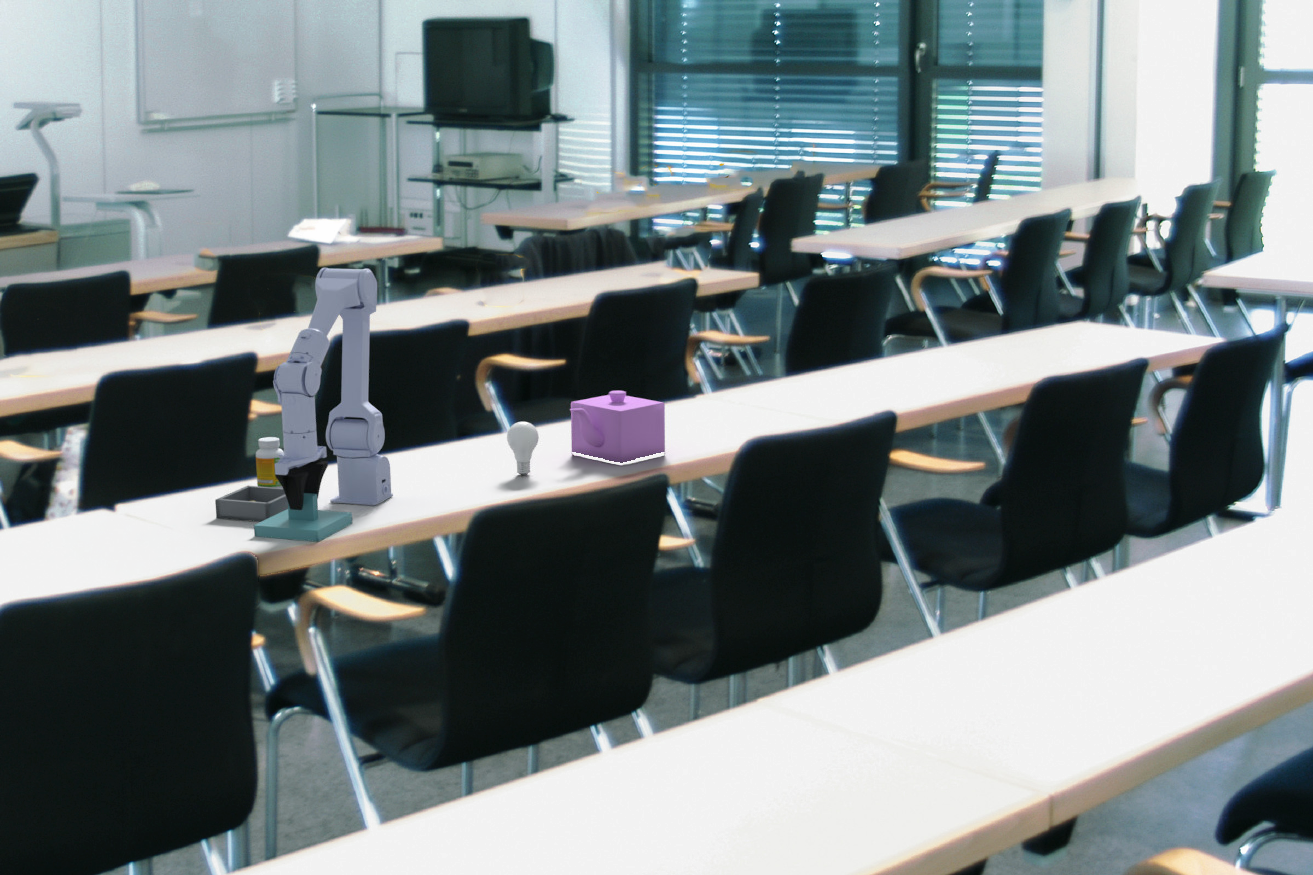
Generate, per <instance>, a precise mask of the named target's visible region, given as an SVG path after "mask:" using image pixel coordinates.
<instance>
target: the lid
mask: <svg viewBox="0 0 1313 875" xmlns="http://www.w3.org/2000/svg"><path fill="white" fill-rule="evenodd" d="M351 524H353V513H352V512H349V511H348V512H347V511H336V510H325V509H324V510H323V509H319V507H318V500H317V494H309V493H304V501H303V508H302V510H291V509H290V507H289V504H288V509H287V510H285V511H283V512H280V513H278V514H276V515H274V516H272V517H270V518H268V519H266V520H264V521H262V522H258V523H255V524H254V525H253V532H254V533H253V534H254V537H257V538H258V537H259V538H270V539H279V540H280V539H281V540H291V541H293V540H294V541H305V542H306V541H307V542H321V541H323V540H324V539H326V538H329V536H331V535H333V534H335V533H337V532H339V531H341V530H343V529H345V528H346V527H349V526H350V525H351Z"/></svg>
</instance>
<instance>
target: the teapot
mask: <svg viewBox="0 0 1313 875" xmlns="http://www.w3.org/2000/svg"><path fill="white" fill-rule="evenodd" d="M665 406H666V404H665V402H662V401H657V400H651V399H646V398H642V397H634V396H630V395H627V391H624V390H611V391H609V392H608V394H607V395H601V396H595V397H590V398H586V399H580V400H574V401H571V403H570V408H569V411H570V414H571V415H570V420H571V421H570V427H571V428H570V429H571V431H570V432H571V453H572V452H576V453H581V454H584V455H589V456H593V457H598V458H603V459H605V460H609V461H614V462H620V463H623V462H627V461H631V460H635V459H636V458H640V457H645V456H649V455H653V454H656V453H661V452H665V453H666V440H665V439H666V437H665V436H666V434H665V433H666V431H665V428H666V425H665V423H666V421H665V420H666V418H665V417H666V414H665V413H666V411H665V410H666V409H665Z"/></svg>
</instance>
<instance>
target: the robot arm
mask: <svg viewBox="0 0 1313 875" xmlns="http://www.w3.org/2000/svg"><path fill="white" fill-rule="evenodd" d="M314 283H315V284H314V285H315V286H314V287H315V294H316V296H315V297H316V299H317V300H316V303H315V306H314V308H313V312H312V316H311V317H310V318H311V319H310V321H309V324H308V327H307V328H304V329H301V330H300V331H299V332H298V335H297V337H296V339H295V342H294V343H293V346H292V348H291V350H290V352H289V354H288V357H287V359H286V361H284V362H282V363H281V364H280V365H277V367H276V368H275V370H274V374H273V381H272V383H273V388H274V391H275V393H276V395H277V403H278V405H279V406H281V420H282V421H281V422H282V435H283V437H282V438H283V452H284V453H281V454H279V458H280V460H279V462H277V463H275V477H276V478H277V479H278V481H279V482H280V484H281V486H282V487H283V490H284V492H285V495H286V498H287V501H288V504H289V507H290V509H291V510H302V508H303V501H304V493H309V494H317V501H318V499H319V493H320V490H321V489H320V488H321V484H322V481H323V478H324V475H325V472H326V470H327V468H328V466H329V462H328V461H326V460H321V459H325V458H327V457H328V455H327V454H328V453H327V446H328V448H329V449H330V450H331V451H332V452H333V456H336V464H337V481H338V482H337V483H338V495H337V496H335V497H333V498H330V500H329V501H330V502H331V503H337V504H338V503H340V504H351V505H363V506H364V505H365V506H377V505H378V504H380V503H382V502H384V501H386V500H387V499H389V498H392V497H393V496H394V493H392V481H391V479H392V478H391V477H392V476H391V464H390V460H389V459H388V457H387V456H384V455H381V454H378V453H379V452H380V451H381V449H382V448H383V446H384V443H385V437H386V436H385V434H386V433H385V427H384V422H383V421H384V420H383V414H382V412H381V411H380V410H378V409H377V408H376V407H375V406H374V405H372V404H371V403H370V402H369V381H370V378H369V376H370V375H369V373H370V371H369V370H370V334H371V333H370V331H371V330H370V324H371V321H370V320H371V315H373V314H374V313H376V312H377V305H378V304H377V303H378V281H377V279H376V276H375V275H374V273H373V271H372V270H371V269H370V268H363V269H359V268H355V269H354V268H328V267H322V268H321V269H320V270H319V271H318V272H317V275H316V278H315V282H314ZM339 316H340V318H341V319H342V337H341V338H342V339H341V340H342V342H341V343H342V345H341V346H342V347H341V350H342V351H341V352H342V353H341V390H340V391H341V392H340V394H341V395H340V396H341V397H340V398H341V400H340V403H339V404H338V405H337V406H335V407H334V408H333V409H332V410H330V411H329V415H328V422H327V425H326V430H325V442H326V444H327V446H325V445H324V446H323V445H321V446H320V445H318V436H317V422H316V421H317V420H316V419H317V418H316V416H317V415H316V402H315V401H316V400H315V399H316V398H315V397H316V396H315V395H316V394H317V393H318V391H319V389H320V385H321V375H322V372H323V369H322V364H323V362H324V359H325V357H326V355H327V353H328V352H329V351H328V350H329V349H330V348H329V347H330V344H331V343H330V340H329V338H328V335H329V333H330V331H331V329H332V328H333V326H334V324H335V322H336V321H337V319H338V317H339ZM353 418H355V419H353ZM356 418H357V419H356ZM358 418H362V419H358Z"/></svg>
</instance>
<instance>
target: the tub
mask: <svg viewBox="0 0 1313 875" xmlns="http://www.w3.org/2000/svg"><path fill="white" fill-rule="evenodd" d="M287 509H288V501H287V498H286V495H285V492H284V490H283V488H273V487H260V486H258V485H246V486H243V487H241V488H239V489H236V490H234V491H232V492H230V493H227V494H225V495H223V496H220V497H219V498H217V499H215V516H216V519H221V520H233V521H234V520H235V521H246V522H256V523H257V522H258V523H260V522H262V521H264V520H266V519H268V518H270V517H272V516H274V515H276V514H278V513H280V512H283V511H285V510H287Z"/></svg>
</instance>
